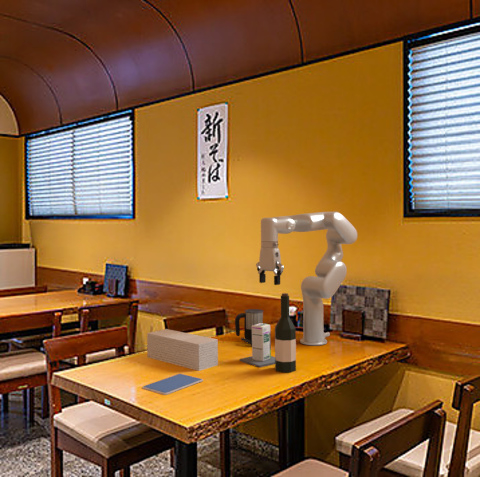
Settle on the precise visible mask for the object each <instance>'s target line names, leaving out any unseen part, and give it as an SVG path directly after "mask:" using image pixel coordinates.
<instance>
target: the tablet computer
mask: <svg viewBox="0 0 480 477" xmlns="http://www.w3.org/2000/svg"><path fill="white" fill-rule="evenodd" d="M203 381H204V379H203V378H201V377H195V376H192V375H189V374H188V375H187V374H183V373H178V374H175V375H172V376H169V377H166V378H164V379H160V380H158V381H154V382H152V383H149V384H146V385H143V386H142V389H143V390H145V391H149V392H151V393H152V392H153V393H157V394H160V395H164V396H167V395H171V394H172V393H174V392H175V393H176V392H178V391H181V390H183V389H186V388H189V387H191V386H193V385H196V384H198V383H199V384H200V383H202V382H203Z"/></svg>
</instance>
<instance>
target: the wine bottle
mask: <svg viewBox="0 0 480 477" xmlns="http://www.w3.org/2000/svg"><path fill="white" fill-rule="evenodd" d="M296 332H297V331H296V326H295V325H294V323H293V321H292V320H291V317H290V295H289V293H286V292H283V293H281V295H280V318H279V319H278V321H277V322H276V325H274V352H275V353H274V357H275V364H274V367H275V368H274V369H275V371H276V372H278V373H283V374H287V373H288V374H289V373H294V372H295V371H296V370H297V357H296V356H297V351H296V350H297V349H296V348H297V342H296V341H297V339H296V338H297V337H296V335H297V334H296Z"/></svg>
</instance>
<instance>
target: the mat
mask: <svg viewBox="0 0 480 477" xmlns="http://www.w3.org/2000/svg"><path fill="white" fill-rule="evenodd" d="M239 361H240V362H242V363H246V364H248V365H250V366H251V365H252V366H254V365H255V366H254V367H257V368H264V367H268V366H271V365H275V356H272V355H271V359H268V360H265V361H257V360H253V359H252V355H251V356H247V357H242V358H239Z"/></svg>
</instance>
